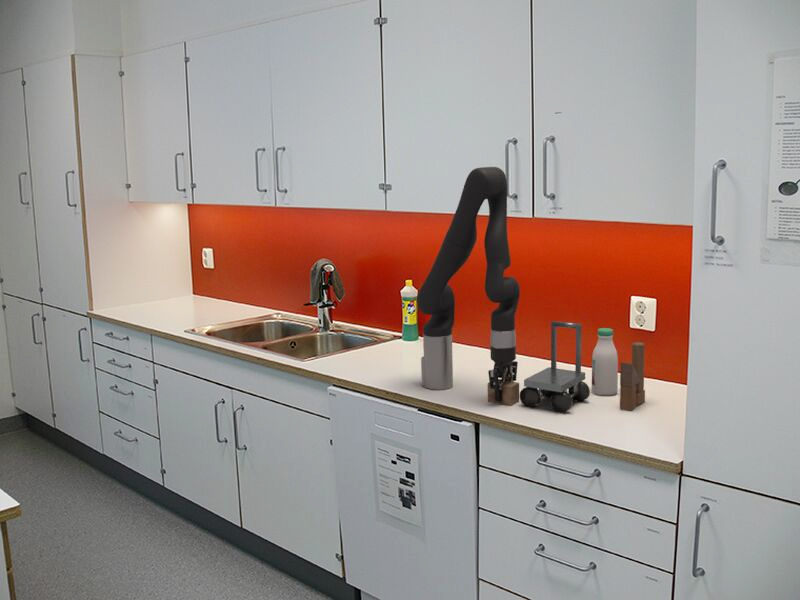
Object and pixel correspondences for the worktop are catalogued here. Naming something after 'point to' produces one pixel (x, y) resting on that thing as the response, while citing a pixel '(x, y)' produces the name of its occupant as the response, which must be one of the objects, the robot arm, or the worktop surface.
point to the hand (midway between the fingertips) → (503, 398)
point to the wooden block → (633, 379)
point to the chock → (505, 393)
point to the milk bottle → (605, 364)
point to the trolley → (557, 378)
